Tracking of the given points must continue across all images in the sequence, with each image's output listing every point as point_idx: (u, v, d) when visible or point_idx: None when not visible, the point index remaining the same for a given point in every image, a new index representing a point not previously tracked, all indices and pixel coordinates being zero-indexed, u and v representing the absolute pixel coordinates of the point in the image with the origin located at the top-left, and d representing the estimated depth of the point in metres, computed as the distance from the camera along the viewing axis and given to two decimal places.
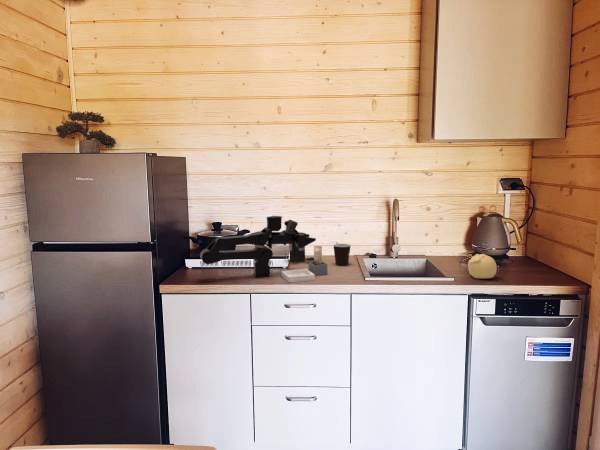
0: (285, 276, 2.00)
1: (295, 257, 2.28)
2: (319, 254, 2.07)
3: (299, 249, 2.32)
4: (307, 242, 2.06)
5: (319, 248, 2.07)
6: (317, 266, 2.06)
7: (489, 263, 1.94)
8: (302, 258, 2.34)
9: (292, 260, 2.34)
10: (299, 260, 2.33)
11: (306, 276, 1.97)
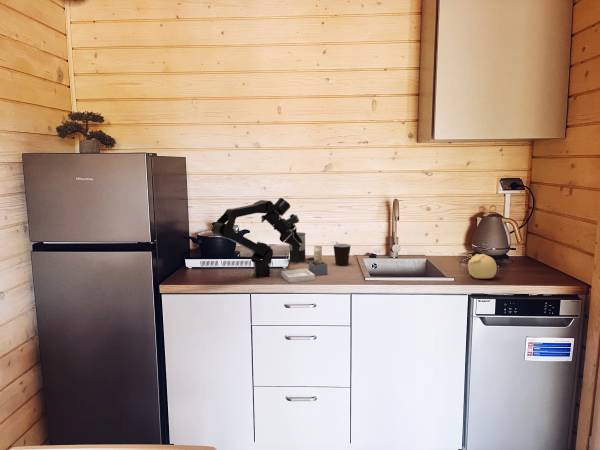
0: (285, 276, 2.00)
1: (295, 257, 2.28)
2: (319, 254, 2.07)
3: (299, 249, 2.32)
4: (291, 242, 2.03)
5: (319, 248, 2.07)
6: (317, 266, 2.06)
7: (489, 263, 1.94)
8: (302, 258, 2.34)
9: (292, 260, 2.34)
10: (299, 260, 2.33)
11: (306, 276, 1.97)
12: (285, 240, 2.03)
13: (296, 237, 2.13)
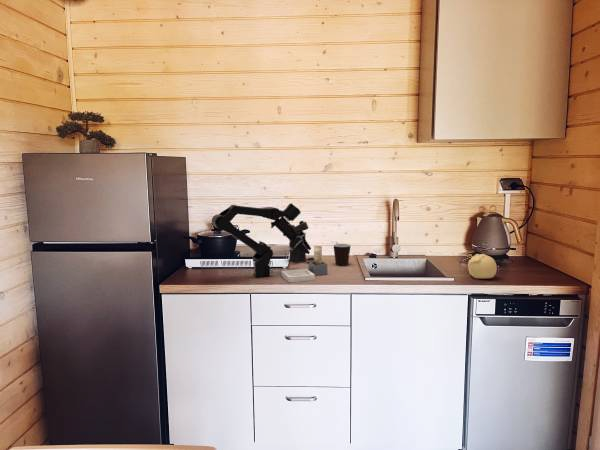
0: (285, 276, 2.00)
1: (296, 257, 2.28)
2: (319, 254, 2.07)
3: None
4: (300, 248, 2.03)
5: (319, 248, 2.07)
6: (317, 266, 2.06)
7: (489, 263, 1.94)
8: (303, 258, 2.34)
9: (293, 260, 2.34)
10: (300, 260, 2.33)
11: (306, 276, 1.97)
12: None
13: (305, 244, 2.14)
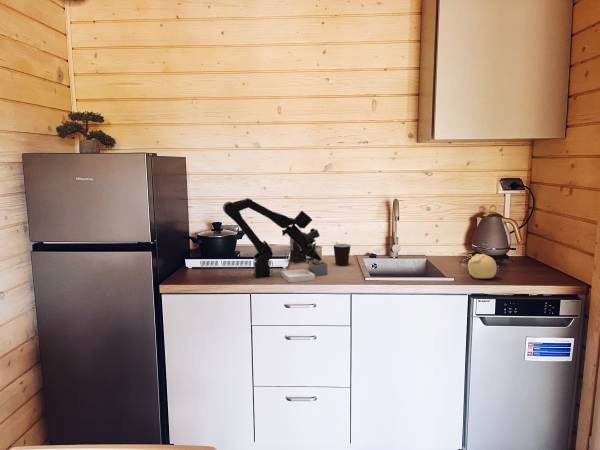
0: (285, 276, 2.00)
1: (296, 257, 2.28)
2: (319, 254, 2.07)
3: (300, 249, 2.32)
4: (312, 255, 2.06)
5: (319, 248, 2.07)
6: (317, 266, 2.06)
7: (489, 263, 1.94)
8: (303, 258, 2.34)
9: (293, 260, 2.34)
10: (300, 260, 2.33)
11: (306, 276, 1.97)
12: None
13: None
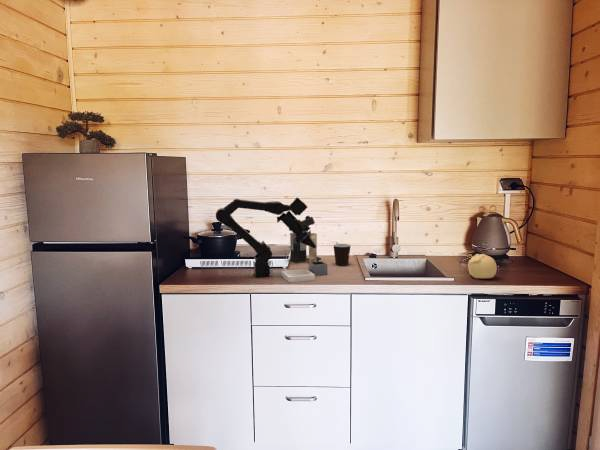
0: (285, 276, 2.00)
1: (296, 257, 2.28)
2: (314, 241, 2.05)
3: (300, 249, 2.32)
4: (307, 242, 2.03)
5: (314, 235, 2.04)
6: (317, 266, 2.06)
7: (489, 263, 1.94)
8: (303, 258, 2.34)
9: (293, 260, 2.34)
10: (300, 260, 2.33)
11: (306, 276, 1.97)
12: (301, 240, 2.03)
13: None
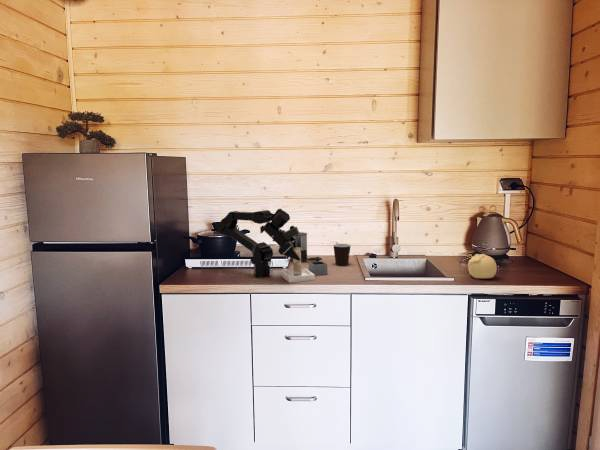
0: (285, 276, 2.00)
1: None
2: None
3: (301, 249, 2.32)
4: (290, 255, 1.95)
5: (298, 250, 1.99)
6: (317, 266, 2.06)
7: (488, 262, 1.94)
8: (304, 258, 2.34)
9: None
10: (301, 260, 2.33)
11: (306, 276, 1.97)
12: None
13: None
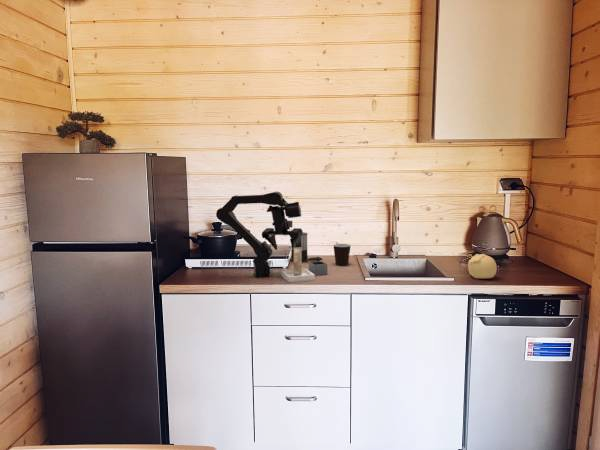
0: (285, 276, 2.00)
1: None
2: (298, 255, 2.00)
3: None
4: (294, 242, 2.04)
5: (298, 249, 2.00)
6: (317, 266, 2.06)
7: (489, 263, 1.94)
8: (304, 258, 2.34)
9: None
10: None
11: (306, 276, 1.97)
12: None
13: (274, 242, 2.09)
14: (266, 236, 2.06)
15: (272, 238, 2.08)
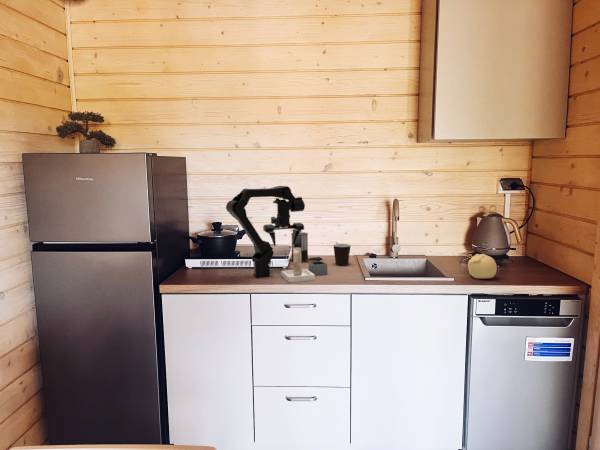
0: (285, 276, 2.00)
1: None
2: (298, 256, 1.99)
3: (302, 249, 2.32)
4: None
5: (298, 250, 1.99)
6: (317, 266, 2.06)
7: (489, 263, 1.94)
8: (305, 258, 2.34)
9: None
10: (302, 260, 2.33)
11: (306, 276, 1.97)
12: (297, 230, 2.11)
13: None
14: (271, 230, 2.06)
15: None
